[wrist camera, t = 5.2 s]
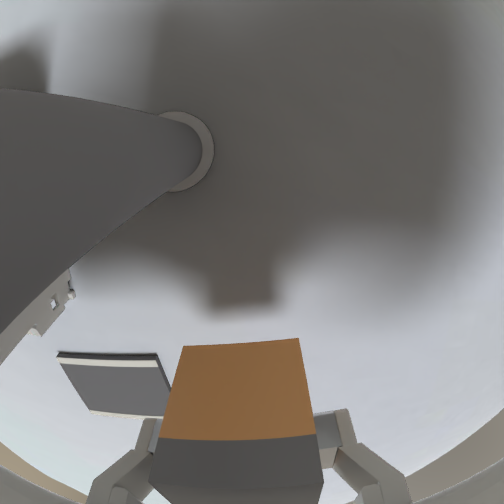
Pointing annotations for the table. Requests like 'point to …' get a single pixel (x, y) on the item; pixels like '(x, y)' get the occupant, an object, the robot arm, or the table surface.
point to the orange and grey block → (239, 428)
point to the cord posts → (80, 180)
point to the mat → (119, 384)
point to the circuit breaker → (37, 315)
